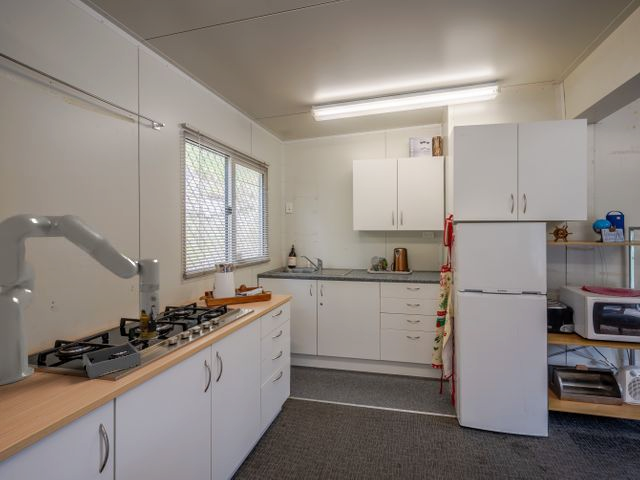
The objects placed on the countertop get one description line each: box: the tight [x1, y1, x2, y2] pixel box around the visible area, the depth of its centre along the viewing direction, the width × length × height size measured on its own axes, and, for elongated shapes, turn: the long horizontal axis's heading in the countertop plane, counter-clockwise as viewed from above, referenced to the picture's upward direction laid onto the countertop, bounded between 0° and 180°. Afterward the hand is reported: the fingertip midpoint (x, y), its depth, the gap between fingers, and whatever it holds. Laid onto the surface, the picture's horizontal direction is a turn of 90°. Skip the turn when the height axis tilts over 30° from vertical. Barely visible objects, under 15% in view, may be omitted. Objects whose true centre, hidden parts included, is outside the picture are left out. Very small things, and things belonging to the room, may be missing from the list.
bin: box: [82, 342, 142, 380], centre depth 120 cm, size 16×15×5 cm
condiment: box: [137, 309, 160, 341], centre depth 132 cm, size 7×8×12 cm
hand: (149, 329), depth 132 cm, fingers closed on condiment, 6 cm apart
